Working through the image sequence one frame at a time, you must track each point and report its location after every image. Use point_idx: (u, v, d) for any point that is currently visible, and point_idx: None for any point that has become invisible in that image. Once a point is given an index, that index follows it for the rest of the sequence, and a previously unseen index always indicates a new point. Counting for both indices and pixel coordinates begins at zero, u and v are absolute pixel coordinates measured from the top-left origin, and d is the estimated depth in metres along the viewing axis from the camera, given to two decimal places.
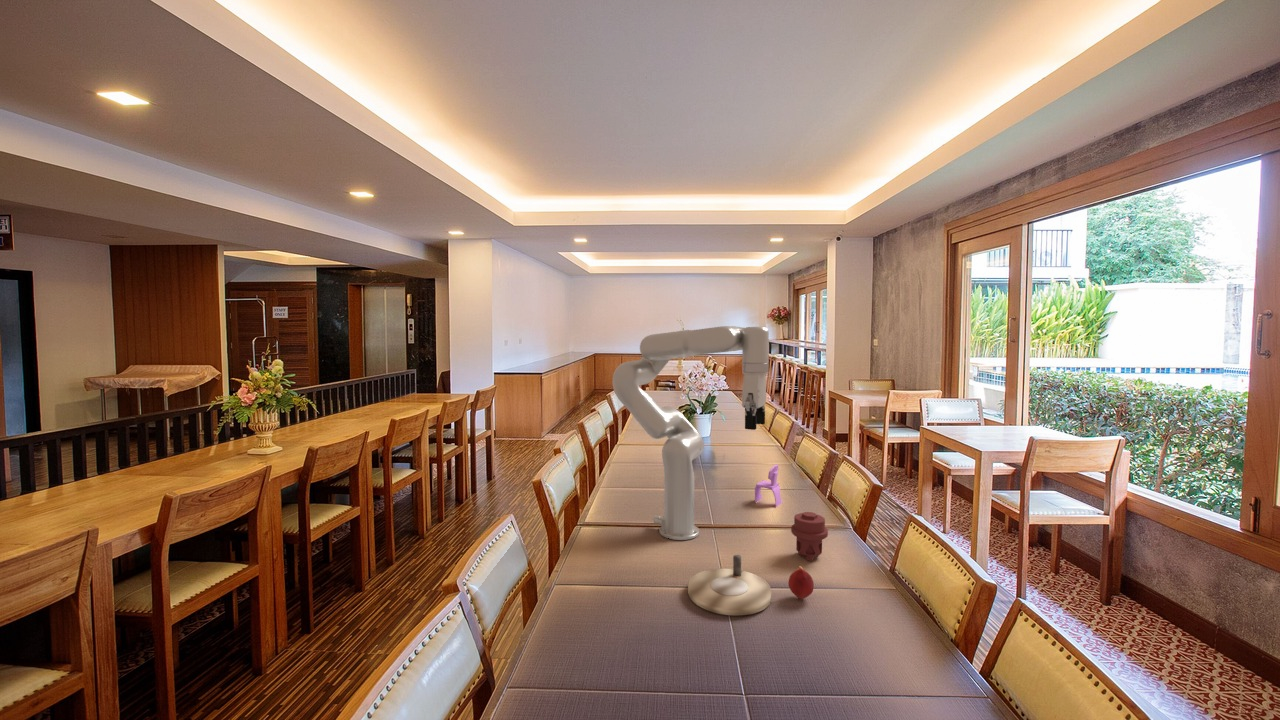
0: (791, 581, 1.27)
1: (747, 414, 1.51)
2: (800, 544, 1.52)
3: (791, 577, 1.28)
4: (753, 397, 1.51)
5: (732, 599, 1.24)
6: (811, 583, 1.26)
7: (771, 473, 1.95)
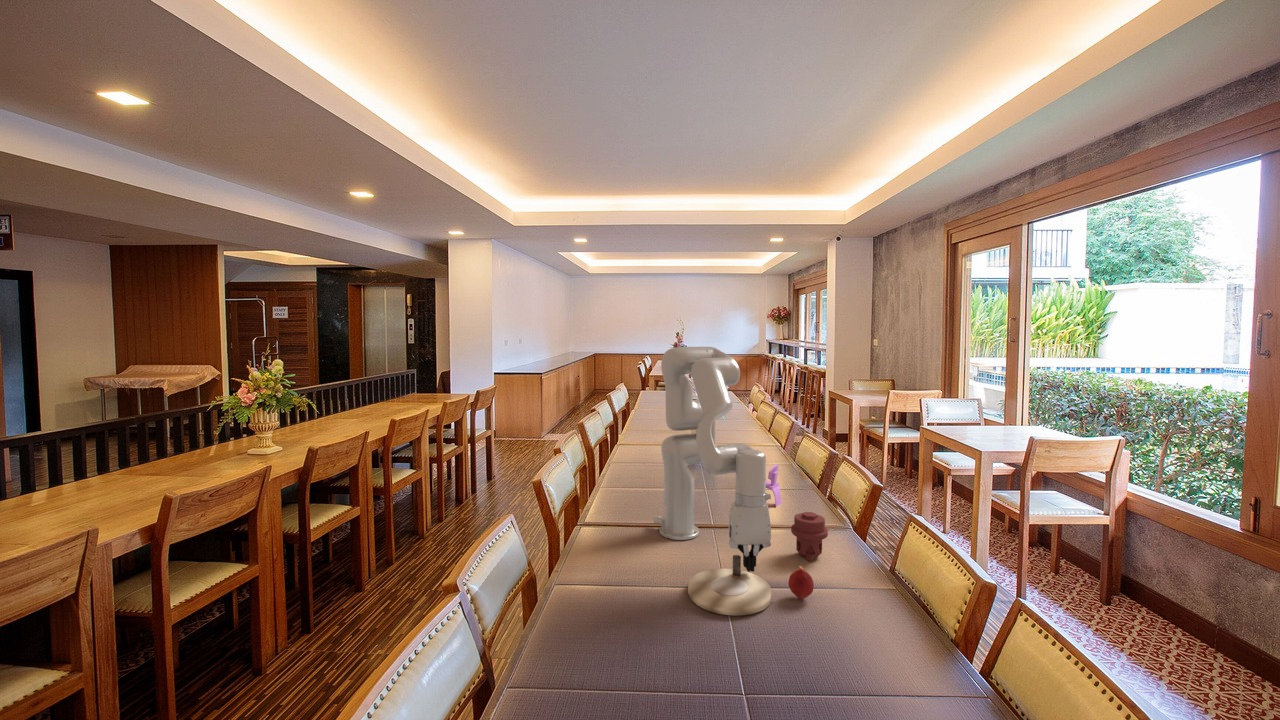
0: (791, 581, 1.27)
1: None
2: (800, 544, 1.52)
3: (791, 577, 1.28)
4: (731, 531, 1.34)
5: (732, 599, 1.24)
6: (811, 583, 1.26)
7: (771, 473, 1.95)
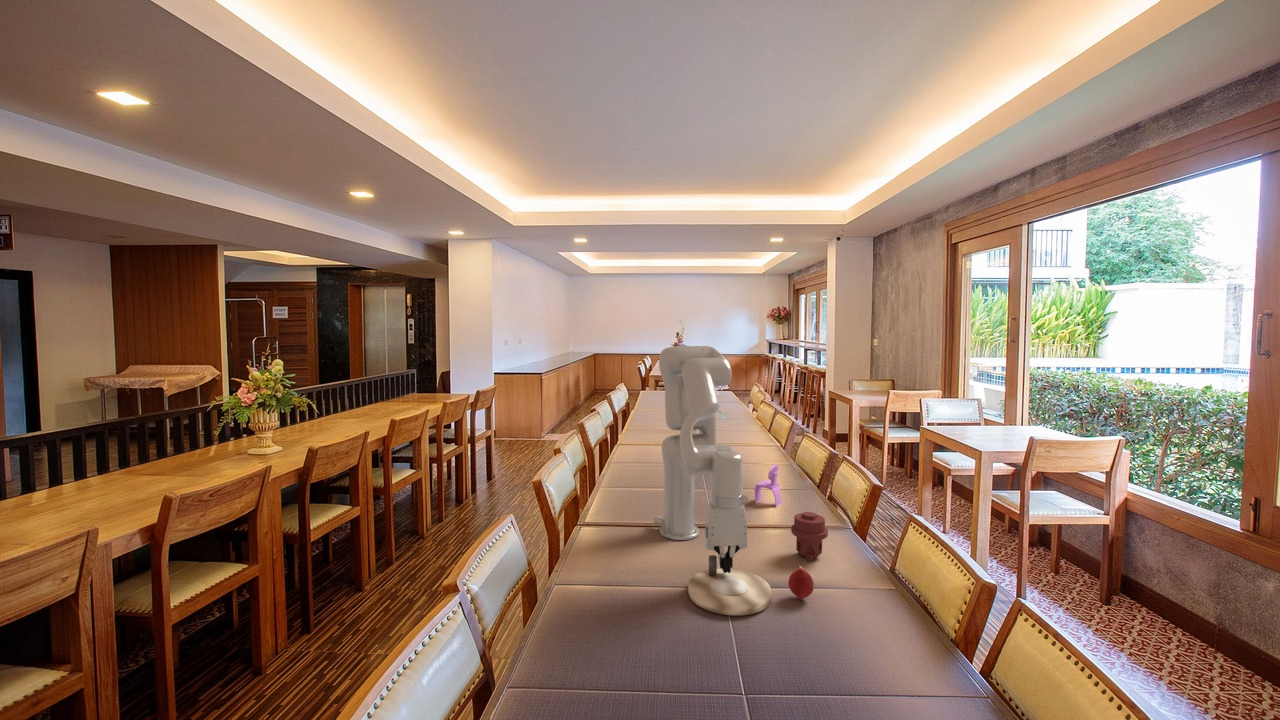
0: (791, 581, 1.27)
1: None
2: (800, 544, 1.52)
3: (791, 577, 1.28)
4: (707, 532, 1.34)
5: (752, 595, 1.26)
6: (811, 583, 1.26)
7: (771, 473, 1.95)
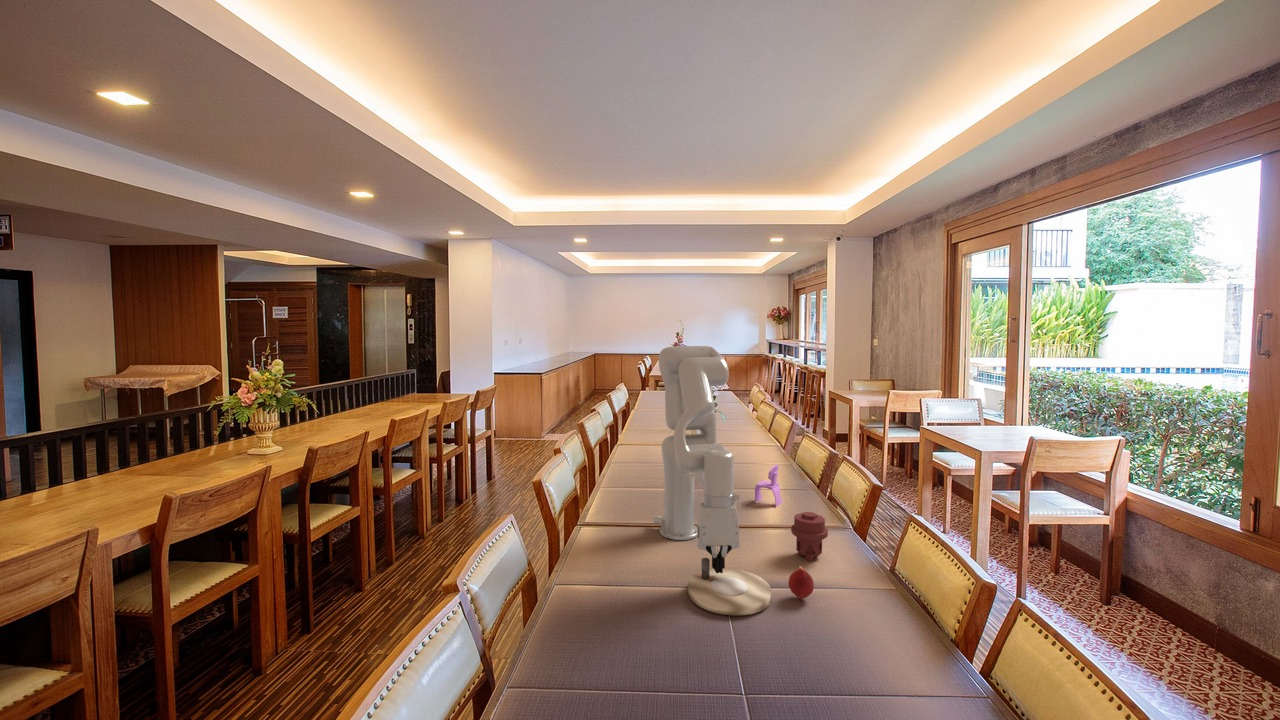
0: (791, 581, 1.27)
1: None
2: (800, 544, 1.52)
3: (791, 577, 1.28)
4: (699, 532, 1.33)
5: (755, 590, 1.28)
6: (811, 583, 1.26)
7: (771, 473, 1.95)
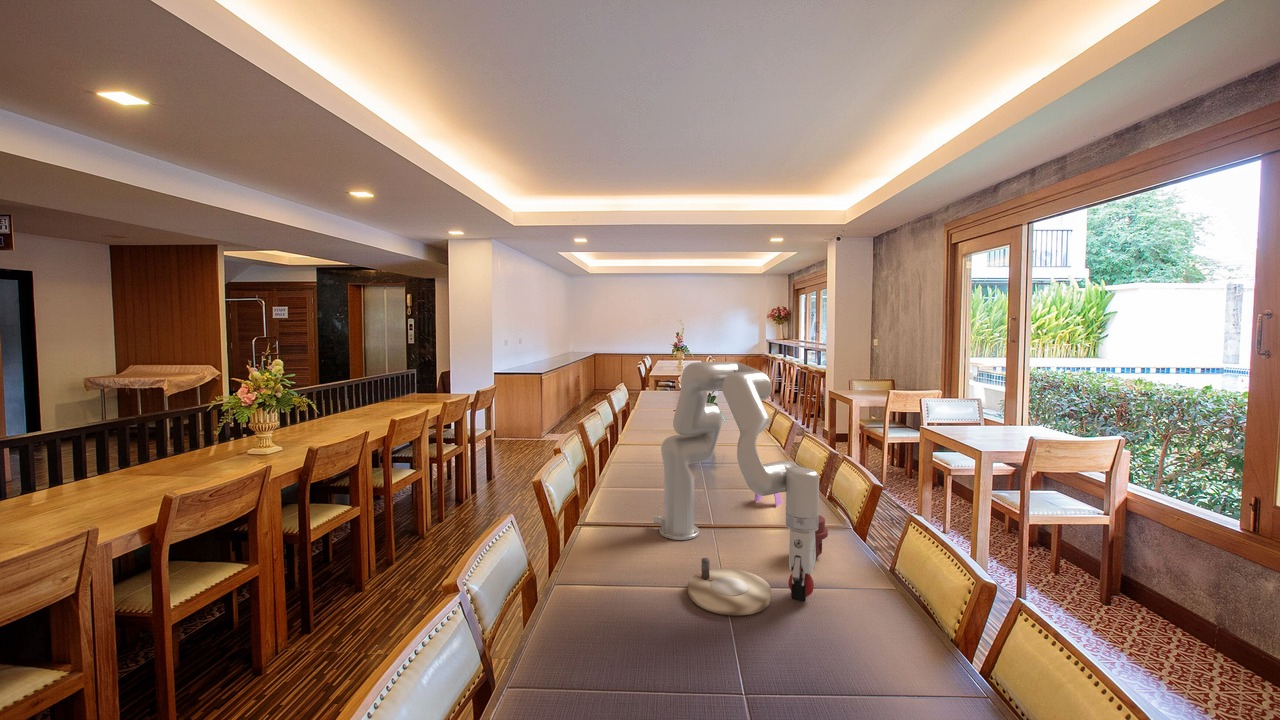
0: (791, 581, 1.27)
1: None
2: None
3: (791, 577, 1.28)
4: None
5: (755, 590, 1.28)
6: (811, 583, 1.26)
7: None
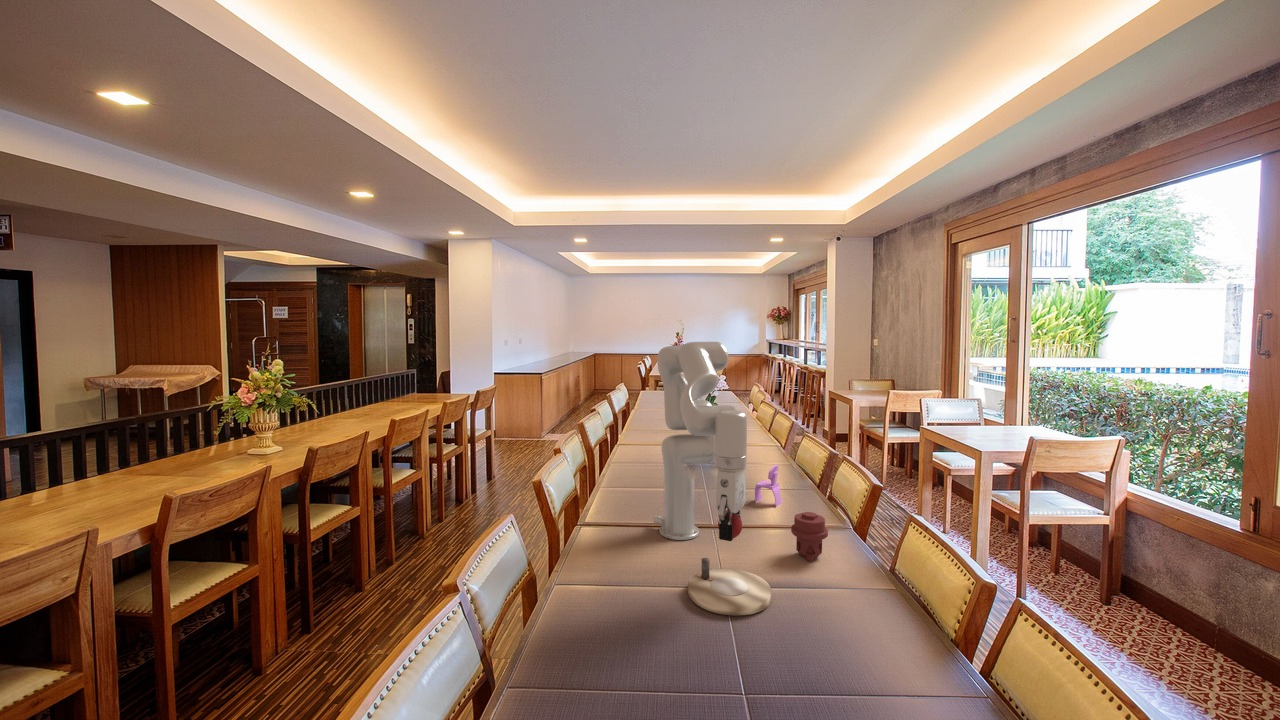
0: None
1: None
2: (800, 544, 1.52)
3: None
4: None
5: (755, 590, 1.28)
6: (739, 523, 1.27)
7: (771, 473, 1.95)
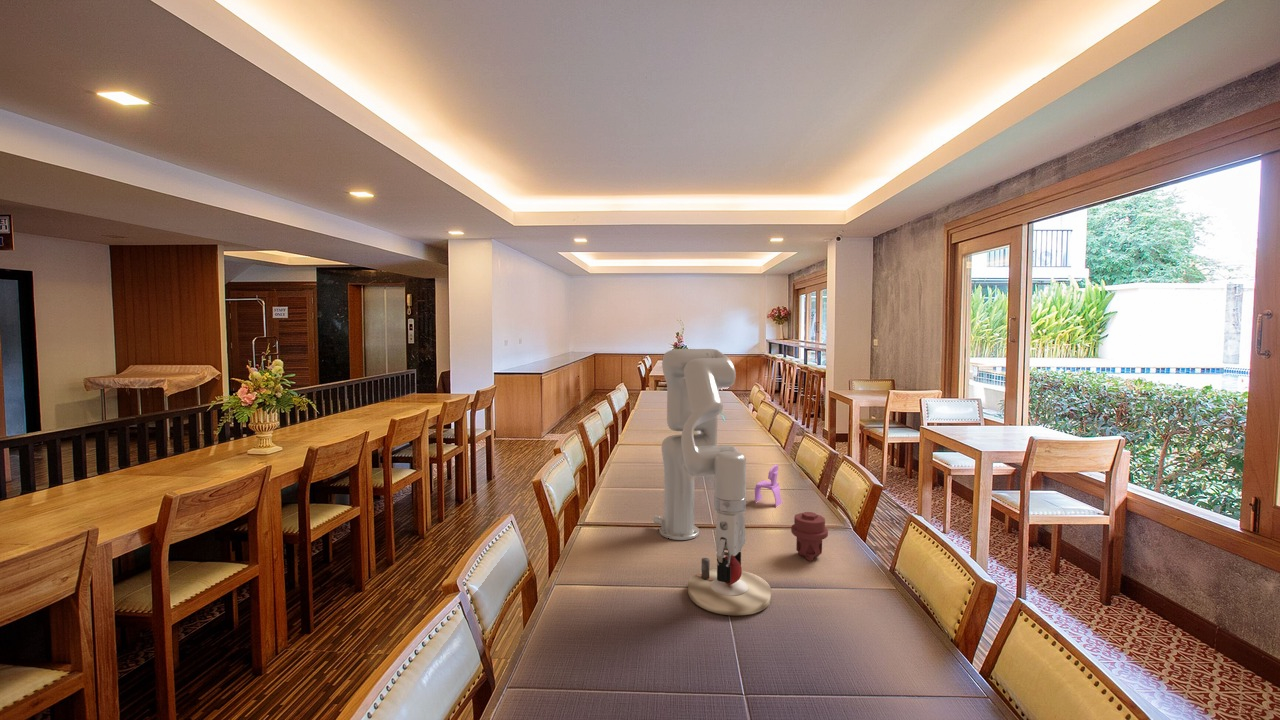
0: None
1: None
2: (800, 544, 1.52)
3: None
4: None
5: (755, 590, 1.28)
6: (738, 569, 1.28)
7: (771, 473, 1.95)
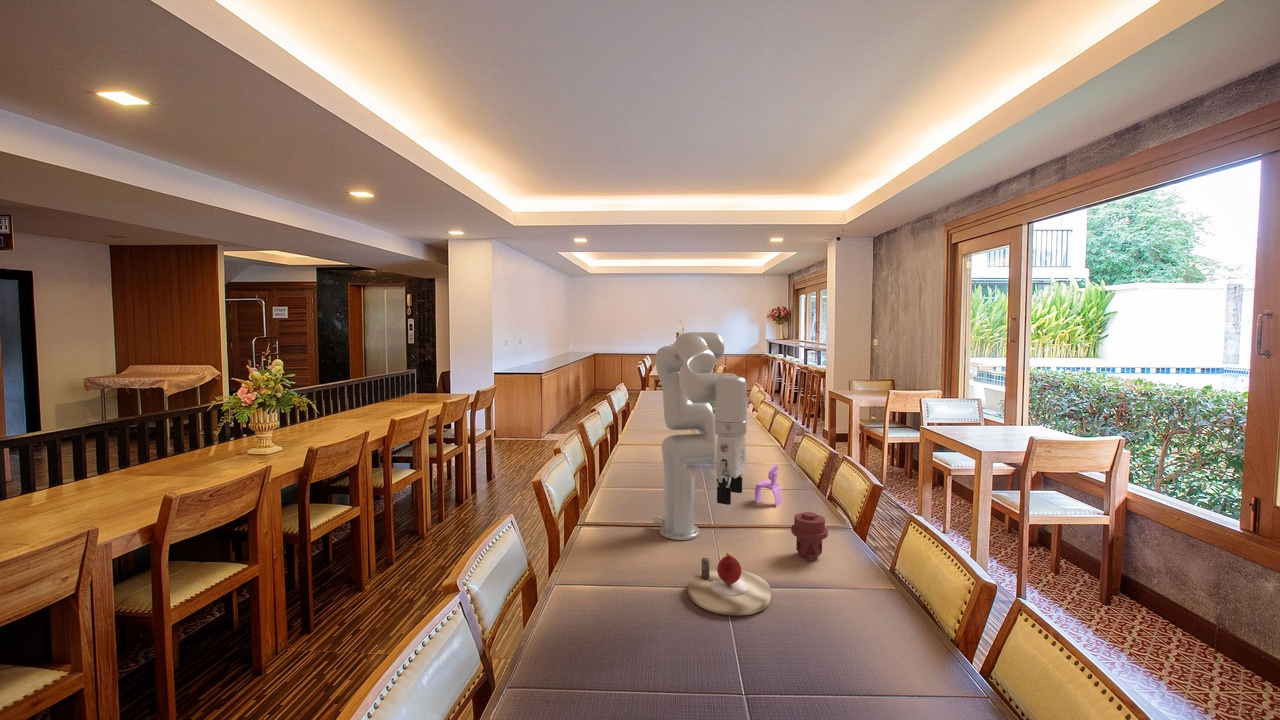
0: (719, 567, 1.29)
1: None
2: (800, 544, 1.52)
3: (719, 563, 1.30)
4: None
5: (755, 590, 1.28)
6: (738, 569, 1.28)
7: (771, 473, 1.95)
